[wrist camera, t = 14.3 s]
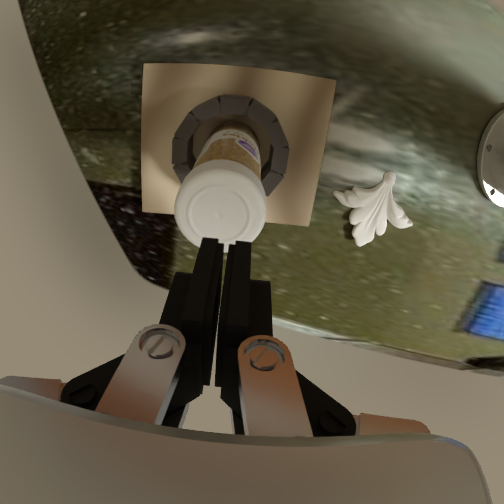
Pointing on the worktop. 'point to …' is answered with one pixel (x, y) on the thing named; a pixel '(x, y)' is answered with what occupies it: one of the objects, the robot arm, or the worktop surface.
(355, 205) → the acanthus leaf ornament
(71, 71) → the worktop surface
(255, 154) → the sprinkles bottle
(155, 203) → the socket board
